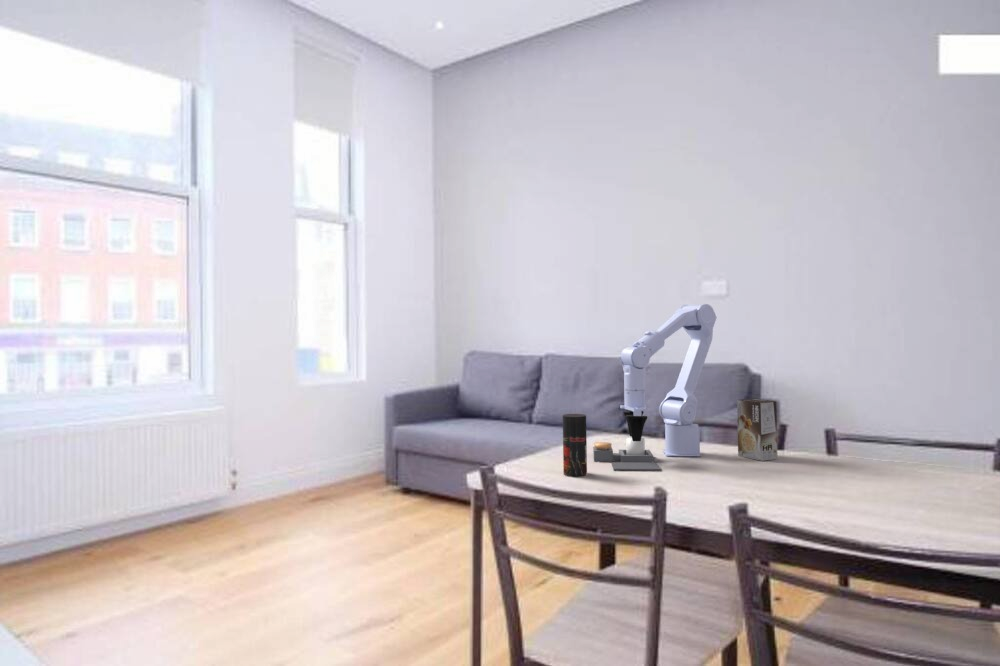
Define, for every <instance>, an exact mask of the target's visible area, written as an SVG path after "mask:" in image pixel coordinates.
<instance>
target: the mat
mask: <svg viewBox="0 0 1000 666" xmlns="http://www.w3.org/2000/svg"><path fill="white" fill-rule="evenodd" d="M611 466H612V468H613V472H617V471H619V472H662V468H661V467H660V465H659V463H658V462H653V463H645V462H621V461H620V462H619V461H617V462H616V461H613V462H611Z"/></svg>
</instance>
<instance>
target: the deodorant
mask: <svg viewBox="0 0 1000 666" xmlns="http://www.w3.org/2000/svg"><path fill="white" fill-rule="evenodd" d="M587 443H588V442H587V415H586V414H584V413H583V414H582V413H567V414H562V447H563V448H562V451H563V452H562V453H563V454H562V456H563V457H562V459H563V461H562V462H563V465H562V466H563V476H566V477H571V478H578V477H579V478H582V477H586V476H587V475H588V460H587V459H588V458H587V455H588V453H587V451H588V449H587V447H588V446H587Z"/></svg>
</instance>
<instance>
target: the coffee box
mask: <svg viewBox="0 0 1000 666" xmlns="http://www.w3.org/2000/svg"><path fill="white" fill-rule="evenodd" d="M736 410H737V411H736V414H737V416H736V417H737V420H736V421H737V455H738V456H739V457H743V458H747V459H752V460H757V461H761V462H764V461H765V462H766V461H771V460H772V461H773V460H777V459H778V458H779V457H778V421H777V420H778V417H777V415H778V414H777V412H778V411H777V400H769V399H761V398H751V397H750V398H742V399H736Z"/></svg>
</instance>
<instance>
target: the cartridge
mask: <svg viewBox="0 0 1000 666" xmlns="http://www.w3.org/2000/svg"><path fill="white" fill-rule="evenodd" d="M625 439H626V440H625V441H626V442H625V445H626V449H625V450H626V455H645V450H646V449H645V447H646V446H645V445H646V444H645V442H646V441H645V437H643V436H642V437H641V441H633V440H632V436H629V437H626V438H625Z"/></svg>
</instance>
